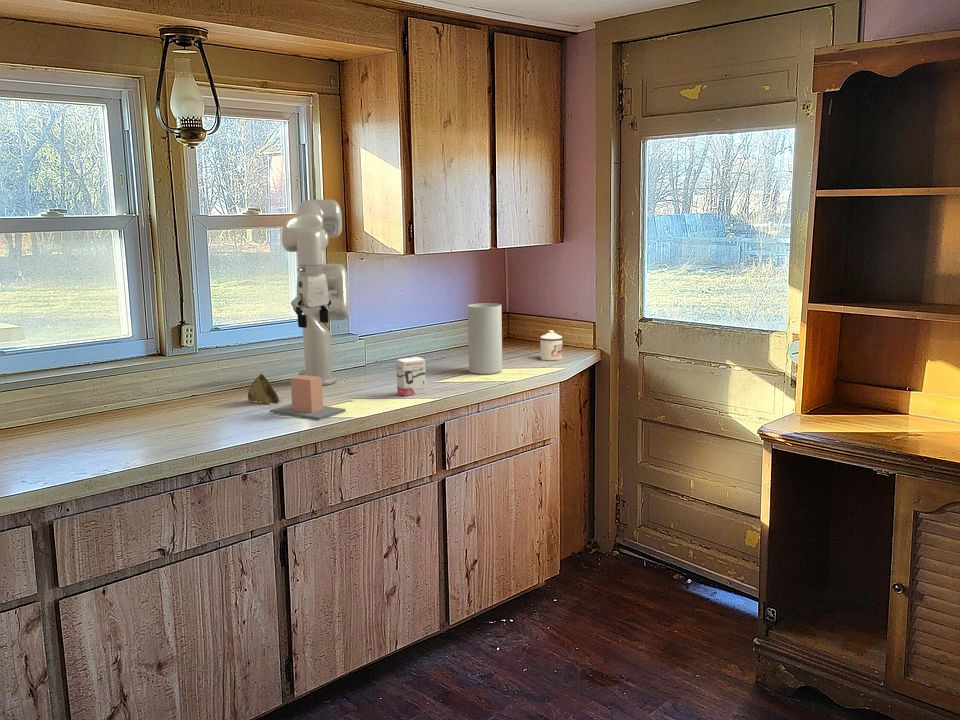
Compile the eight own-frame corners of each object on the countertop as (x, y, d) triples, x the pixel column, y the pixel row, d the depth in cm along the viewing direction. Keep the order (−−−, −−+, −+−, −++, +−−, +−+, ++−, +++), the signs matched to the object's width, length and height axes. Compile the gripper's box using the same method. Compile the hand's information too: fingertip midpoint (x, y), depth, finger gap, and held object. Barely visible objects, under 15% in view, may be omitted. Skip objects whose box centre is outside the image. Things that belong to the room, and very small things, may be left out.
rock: (238, 394, 281) (246, 396, 272) (251, 372, 283) (260, 372, 275) (266, 411, 286) (275, 412, 277) (279, 388, 288) (288, 389, 279)
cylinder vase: (506, 373, 319) (505, 306, 315) (473, 375, 316) (472, 307, 312) (497, 367, 331) (496, 302, 327) (465, 369, 328) (464, 304, 324)
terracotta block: (311, 412, 261) (310, 380, 259) (292, 409, 265) (290, 377, 263) (323, 409, 265) (321, 377, 263) (303, 406, 269) (301, 374, 267)
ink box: (404, 396, 284) (402, 361, 282) (396, 394, 288) (395, 359, 286) (426, 393, 289) (425, 358, 286) (419, 390, 293) (418, 356, 291)
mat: (270, 412, 265) (269, 410, 265) (297, 404, 275) (297, 402, 275) (319, 420, 255) (318, 417, 255) (345, 411, 265) (345, 408, 265)
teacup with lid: (553, 361, 341) (553, 332, 339) (535, 359, 347) (535, 330, 345) (571, 357, 350) (571, 329, 348) (552, 355, 356) (552, 327, 354)
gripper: (299, 273, 257) (302, 330, 261) (338, 268, 272) (341, 321, 275) (281, 272, 261) (284, 328, 265) (320, 266, 276) (323, 319, 279)
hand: (313, 324), depth 270 cm, fingers open, 9 cm apart
